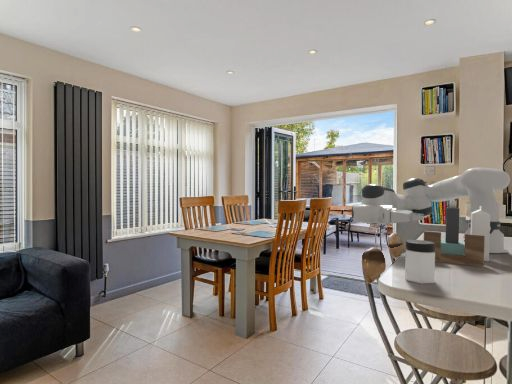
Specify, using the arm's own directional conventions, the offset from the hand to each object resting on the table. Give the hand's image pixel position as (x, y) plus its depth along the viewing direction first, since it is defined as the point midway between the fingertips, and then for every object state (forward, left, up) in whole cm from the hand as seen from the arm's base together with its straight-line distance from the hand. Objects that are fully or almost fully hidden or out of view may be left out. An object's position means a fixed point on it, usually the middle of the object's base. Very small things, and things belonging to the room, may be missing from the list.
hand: (423, 217), depth 135 cm
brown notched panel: (+6, +11, -17) cm, 21 cm away
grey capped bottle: (0, +10, -10) cm, 14 cm away
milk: (-8, +21, -17) cm, 28 cm away
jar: (+40, +1, -17) cm, 43 cm away
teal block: (0, +11, -17) cm, 20 cm away
